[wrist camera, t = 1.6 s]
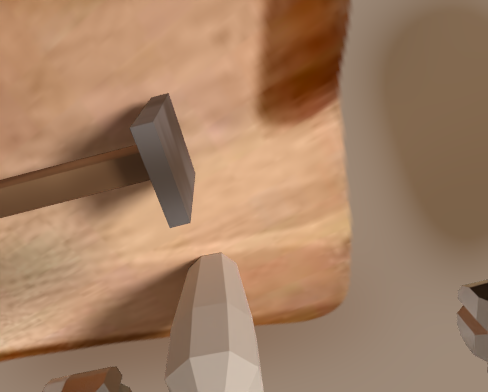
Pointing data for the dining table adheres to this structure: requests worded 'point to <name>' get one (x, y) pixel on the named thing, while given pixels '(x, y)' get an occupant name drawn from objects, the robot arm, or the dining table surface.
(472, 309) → the robot arm
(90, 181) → the push rod
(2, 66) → the dining table surface
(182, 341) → the low poly bottle
